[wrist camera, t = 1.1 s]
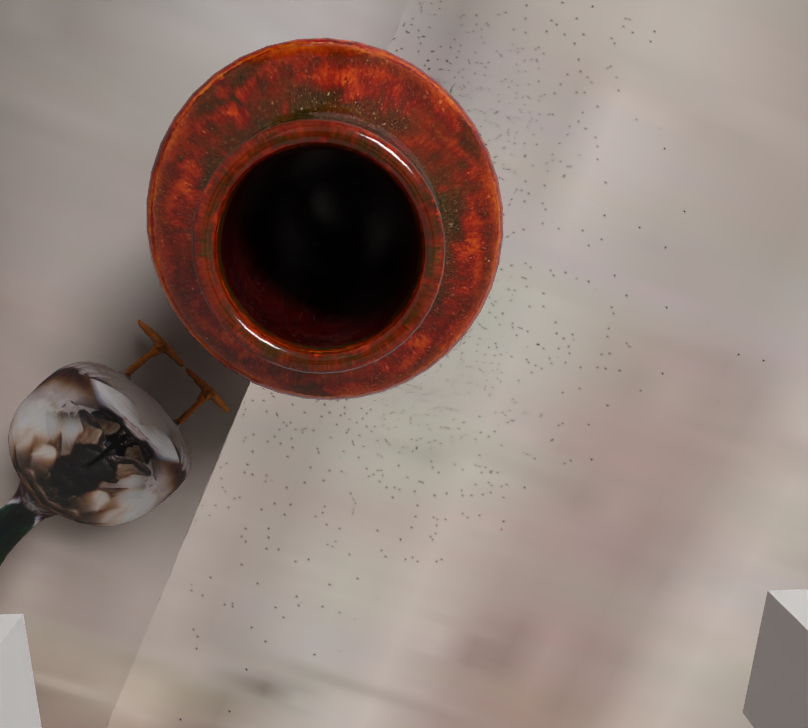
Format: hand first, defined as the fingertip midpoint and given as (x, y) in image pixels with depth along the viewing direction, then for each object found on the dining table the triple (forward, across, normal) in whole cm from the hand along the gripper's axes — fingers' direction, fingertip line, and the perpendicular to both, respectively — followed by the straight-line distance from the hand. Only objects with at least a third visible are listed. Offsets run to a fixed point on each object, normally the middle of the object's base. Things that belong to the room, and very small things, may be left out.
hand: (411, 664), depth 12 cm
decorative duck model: (+24, -16, -7) cm, 30 cm away
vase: (+25, -2, +7) cm, 26 cm away
